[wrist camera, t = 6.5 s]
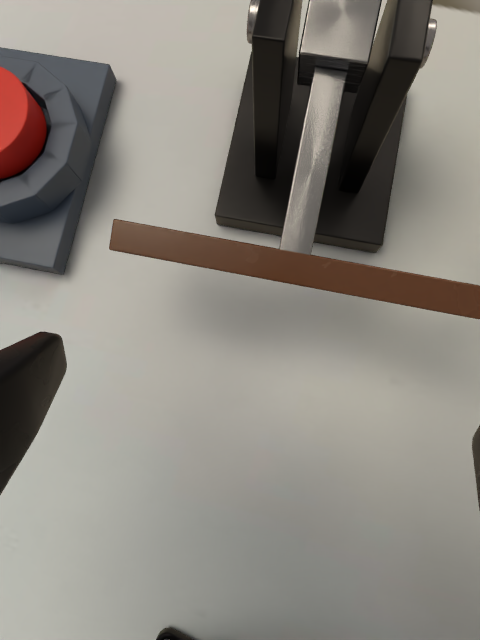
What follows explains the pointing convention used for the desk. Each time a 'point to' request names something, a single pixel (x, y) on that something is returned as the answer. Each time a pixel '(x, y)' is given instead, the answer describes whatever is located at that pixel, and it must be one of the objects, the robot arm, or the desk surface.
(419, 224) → the desk surface
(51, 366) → the robot arm
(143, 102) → the desk surface
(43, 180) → the button box
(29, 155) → the red button
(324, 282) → the lever
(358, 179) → the lever bracket
